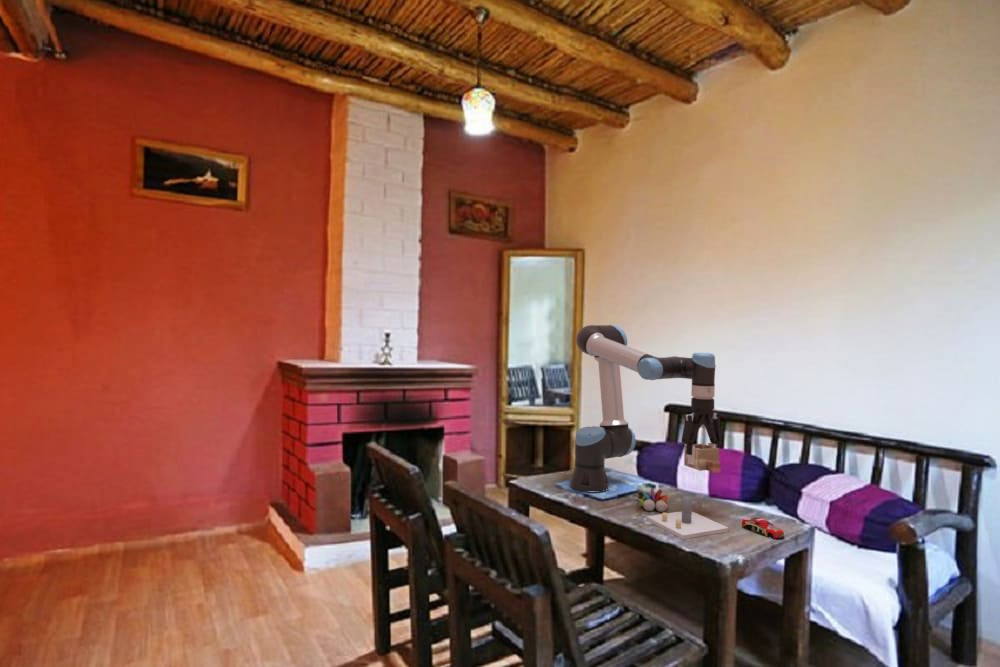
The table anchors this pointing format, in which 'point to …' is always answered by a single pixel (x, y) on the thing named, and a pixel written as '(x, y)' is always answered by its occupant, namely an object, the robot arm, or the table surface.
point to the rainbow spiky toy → (654, 501)
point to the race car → (762, 527)
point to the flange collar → (704, 458)
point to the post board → (688, 528)
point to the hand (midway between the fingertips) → (701, 462)
